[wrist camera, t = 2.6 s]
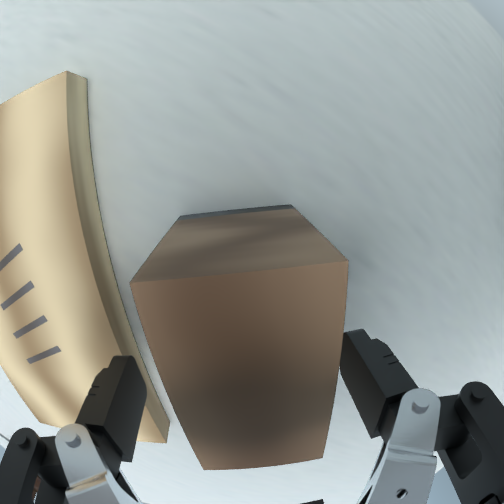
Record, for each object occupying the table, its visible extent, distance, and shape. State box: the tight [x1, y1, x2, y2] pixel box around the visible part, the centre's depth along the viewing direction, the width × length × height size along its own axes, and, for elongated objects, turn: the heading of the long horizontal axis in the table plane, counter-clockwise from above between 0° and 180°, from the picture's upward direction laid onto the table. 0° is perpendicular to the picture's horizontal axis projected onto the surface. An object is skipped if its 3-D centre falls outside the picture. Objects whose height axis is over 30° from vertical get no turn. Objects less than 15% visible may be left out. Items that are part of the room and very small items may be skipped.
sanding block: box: [130, 205, 348, 470], centre depth 11 cm, size 5×9×7 cm, turn 5°
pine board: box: [0, 71, 170, 443], centre depth 12 cm, size 12×22×2 cm, turn 5°
